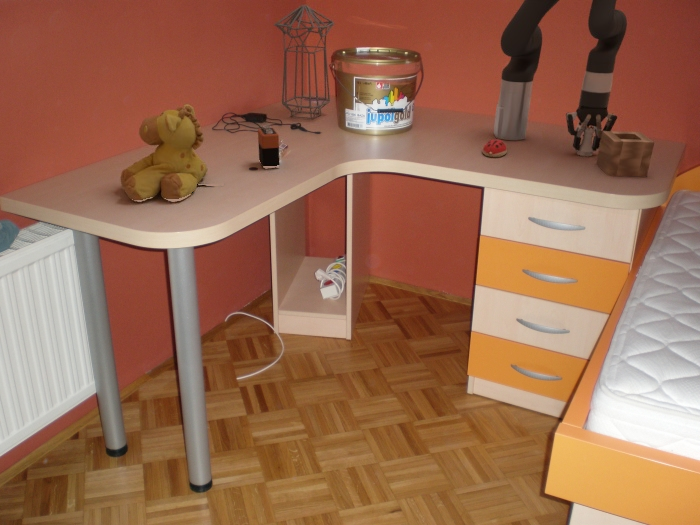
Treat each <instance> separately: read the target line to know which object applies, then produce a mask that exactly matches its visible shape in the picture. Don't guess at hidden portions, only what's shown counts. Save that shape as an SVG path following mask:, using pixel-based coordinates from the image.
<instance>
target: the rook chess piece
mask: <svg viewBox="0 0 700 525" xmlns="http://www.w3.org/2000/svg"><path fill="white" fill-rule="evenodd" d="M593 134H595V130H594V126H586V128H585V130H584V131H583V132H582V140H581V142H580V148H579V150H576V151H577V152H576V154H577V156H579V155H580V156H579V157H583V156H587V157H586V158H589V157H588V156H590V157H592V156H593V154H594V153H593V152H594V151H593V148H592V145H593V138H594V135H593Z"/></svg>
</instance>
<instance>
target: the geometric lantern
mask: <svg viewBox="0 0 700 525" xmlns="http://www.w3.org/2000/svg"><path fill="white" fill-rule="evenodd" d="M304 11H305V12H306V15H307V17H308V19H309V21H307V20H303V15H304ZM318 16H320V17H322V18H323V19H325V20H327V21H322V19H320V17H318ZM286 19H287V20H286ZM312 19H313V20H312ZM285 20H286V21H285ZM283 21H285V22H284V23H282V22H283ZM295 21H297V27H293V25H294V23H295ZM306 24H308V25H310V26H307V25H306ZM314 24H315V25H316V26H315V25H314ZM334 25H335V22H334V21H333V20H331V19H330V18H328V17H326V16H325V15H323V14H322V13H319V12H318V11H317V10H315V9H313V8H311V7H310V6H308V5H307V4H303V5H302V4H301V5H300V6H299V7H298V8H296V9H294V10H292V11H291V12H290V13H288V14H287V15H286V16H284V17H282V18H281V19H280V20H278V21H277V22H275V23H274V24H273V26H275V27H277V28H278V29H279V30H280V31H281V32H282V35H283V36H282V38H283V41H282V42H283V51H284V53H283V54H284V58H283V73H282V77H283V78H282V95H281V104H282V105H283V106H284V107H285V108H286V109H287V110H289V111H290V118H297V119H309V120H310V119H311V120H314V119H316V118H318V117H319V116H321V115H322V108H324V107H325V106H326V105H327V104H329V103H330V101H331V98H330V96H331V94H330V85H329V84H330V83H329V82H330V81H329V74H328V73H329V71H328V70H329V69H328V60H327V47H326V46H327V34H328V33H329V32H330V30H331V29H332V28H333V26H334ZM300 26H302V27H300ZM285 28H286V30H285ZM313 29H317V31H315V30H313ZM292 30H294V31H295V32H296V35H293V32H291V31H292ZM299 30H305V31H304V32H302V33H301V34H299V33H298V31H299ZM323 30H325V33H324V34H323ZM310 33H314V34H318V35H319V36H320V38H319V41H318V43H317V45H316V46H313V45H305V42H306V41H307V38H308V37H309V35H310ZM285 34H286V35H287V36H288V37H289V38H290V41H289V43H288V46H287V47H286V38H285V37H286V35H285ZM305 34H306V36H305V37H304V39H303V40H302V38H301V37H302V36H304V35H305ZM296 38H297V39H299V41H300V43H301V45H299V42H297V39H296ZM293 39H294V41H295V43H296V44H297V45H295V44H294V45H293V46H290V45H291V43H292V41H293ZM323 39H324V40H323ZM321 41H322V43H323V46H319V45H320V43H321ZM292 48H295V50H290V49H292ZM298 48H301V50H298ZM304 48H305V51H304ZM308 48H313V49H314V51H309V49H308ZM317 49H318V50H317ZM321 51H323V70H324V71H323V74H324V98H323V97H319V96H318V95H319V92H318V91H319V90H318V80H317V79H318V75H317V63H316V62H317V60H316V53H318V52H321ZM287 52H292V53H295V72H294V74H295V75H294V97H292V98H289V99H288V97H287V96H288V94H287V93H288V91H287V89H288V88H287V87H288V86H287V84H288V83H287V81H288V80H287V72H288V71H287V63H288V62H287V59H288V58H287V57H288V56H287V55H288V54H287ZM298 53H300V55H301V60H300V61H301V64H300V65H301V96H297V81H298V80H297V77H298ZM304 54H307V63H308V64H307V65H308V66H307V70H308V73H307V74H308V96H304ZM310 54H313V66H314V67H313V68H314V83H315V96H316V97H313V96H312V94H311V62H310V61H311V60H310V59H311V57H310ZM297 99H300V105H299V103H298V100H297ZM303 99H307V100H308V101H309V102H308V105H303ZM292 100H294V101H295V103H296V104H289V103H288V102H291V101H292ZM312 100H316V105H315V106H312ZM319 100H321V101H322V102H321V103H320V104H319ZM325 101H326V102H325ZM291 107H292V109H291ZM293 107H294V108H293ZM296 109H297V110H296ZM299 109H300V110H299ZM302 109H308V110H309V111H303V110H302ZM312 109H314V110H313V112H312ZM299 113H300V114H309V115H310V117H309V116H308V117H306V116H297V115H298V114H299ZM312 114H313V115H312ZM295 115H296V116H295Z"/></svg>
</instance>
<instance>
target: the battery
mask: <svg viewBox="0 0 700 525" xmlns="http://www.w3.org/2000/svg"><path fill="white" fill-rule="evenodd" d="M279 136H280V135H279V134H278V132H277V131H276V130H275V128H274V127H272V126H271V125H269V124H268V125H263V126H262V128H258V129H257V139H258V160H260V162H261V164H262V165H263V166H277V165H280V137H279ZM260 162H259V163H260ZM261 164H260V165H261ZM262 165H261V166H262Z"/></svg>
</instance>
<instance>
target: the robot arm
mask: <svg viewBox="0 0 700 525" xmlns="http://www.w3.org/2000/svg"><path fill="white" fill-rule="evenodd" d="M558 2H560V0H523V2H522V3H521V4H520V7H519V9H518V10H517V11H516V12H515V14H514V15H513V17H512V18H511V20H510V21H509V22H508V24H507V25H506V27H505V28H504V29H503V31H502V34H501V37H500V48H501V50H502V53H504V54H505V56H508V57H510V60H509V62H508V63H507V64H506V66H504V68H503V69H502V71H501V78H500V89H499V96H498V102H497V103H496V110H495V115H494V126H493V135H494V137H495V139H498V140H504V141H505V140H507V141H521V140H524V139H526V135H527V134H526V133H527V128H528V120H529V112H530V106H531V100H532V99H531V98H532V92H533V86H534V84H533V82H534V77H535V74H536V73H537V70H538V68H539V63H540V58H541V52H542V46H543V32H542V29H541V28H540V26H539V24H540V23H541V21H542V20H543V18H544V17H545V16H546V15H547V13H548V12H549V11H550V10H551V9H552V8H554V6H555V5H557V3H558ZM616 5H617V0H592V1H591V5H590V10H589V16H588V20H587V21H588V22H587V25H588V27H587V28H588V31H589V33H590V36H592V37H593V38H594V39H596V40H597V43H596V44H595V47H593V48H592V49H590V51H589V52H588V55H587V61H586V66H585V73H584V76H583V79H582V85H581V88H580V89H581V90H580V97H579V102H578V107H577V109H576V110H575V111H573V112H566V113H565V119H566V125H567V126H566V127H567V131H568V132H567V133H569V135H571V136H574V138H573V141H572V142H573V143H572V147H573V148H574V150H575V151H578V150H579V148H580V145H581V143H582V140H581V139H582V135H583V133H584V132H583V131H584V130H585V128H586V126H589V127H590V126H592V127H594V130H595V132H594V135H595V136H594V135H593V138H592V148H593V152H596V151H597V150H599V146H600V141H601V136H602V131H612V129H613V127H614V125H615V123H616V121H617V120H618V116H617V115H616V114H614V113H610V112H609V111H608V107H609V106H608V105H609V102H610V97H611V91H612V88H613V78H614V70H615V64H616V59H617V55H618V52H619V50H620V48H621V45H622V43H623V42H624V41H623V40H624V39H625V35H626V31H627V27H628V20H627V16H626V14H625V13H624V11H622V10H621V9H616ZM504 54H503V55H504ZM576 117H577V119H578V120H579V121H578V123H577V124H576V127H575V124H574V121H575V119H576ZM605 119H606V123H605V125H604V127H603V128H602V122H603V121H604V120H605Z"/></svg>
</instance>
